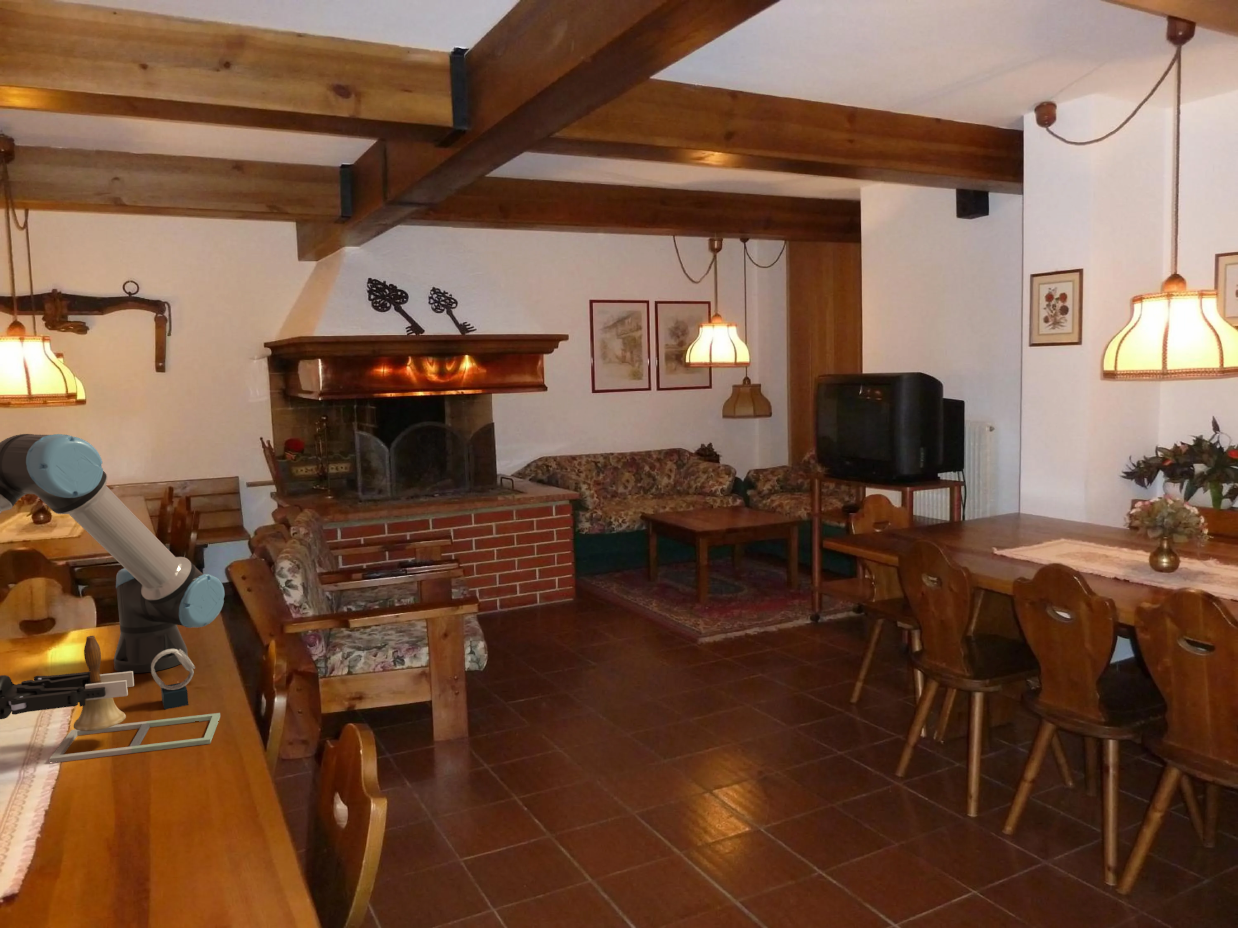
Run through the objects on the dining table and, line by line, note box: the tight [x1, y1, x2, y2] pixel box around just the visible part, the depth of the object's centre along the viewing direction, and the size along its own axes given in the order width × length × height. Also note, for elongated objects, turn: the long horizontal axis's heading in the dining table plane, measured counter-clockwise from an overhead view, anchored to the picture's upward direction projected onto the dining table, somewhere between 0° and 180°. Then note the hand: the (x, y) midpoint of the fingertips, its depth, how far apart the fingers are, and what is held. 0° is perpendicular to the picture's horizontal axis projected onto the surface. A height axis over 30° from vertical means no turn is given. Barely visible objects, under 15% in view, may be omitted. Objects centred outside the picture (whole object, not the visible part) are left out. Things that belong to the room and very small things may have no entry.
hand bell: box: [73, 635, 127, 731], centre depth 167 cm, size 8×8×16 cm
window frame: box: [49, 712, 221, 763], centre depth 170 cm, size 13×26×1 cm, turn 106°
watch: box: [150, 649, 196, 710], centre depth 188 cm, size 6×8×11 cm
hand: (129, 683), depth 169 cm, fingers closed on hand bell, 4 cm apart
